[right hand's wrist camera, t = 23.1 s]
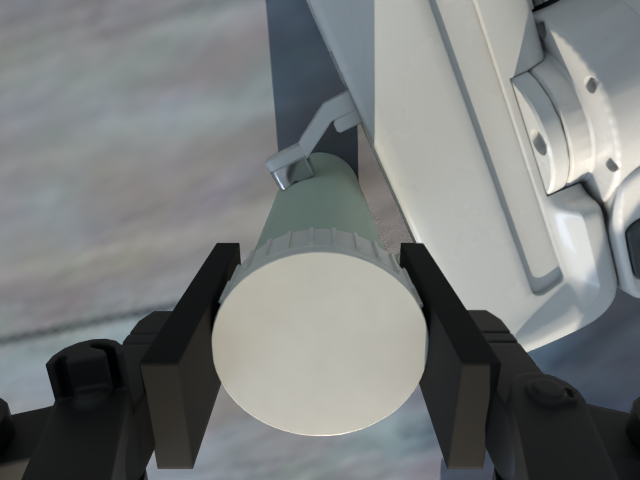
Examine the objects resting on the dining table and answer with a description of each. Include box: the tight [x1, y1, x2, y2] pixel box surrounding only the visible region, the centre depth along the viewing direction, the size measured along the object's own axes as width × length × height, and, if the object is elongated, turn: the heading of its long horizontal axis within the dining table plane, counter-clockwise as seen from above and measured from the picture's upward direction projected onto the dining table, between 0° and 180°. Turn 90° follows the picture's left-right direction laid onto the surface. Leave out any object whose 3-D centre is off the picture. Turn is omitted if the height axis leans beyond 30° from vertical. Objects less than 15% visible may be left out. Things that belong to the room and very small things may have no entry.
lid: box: [211, 227, 429, 436], centre depth 11 cm, size 6×6×2 cm
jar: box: [255, 152, 385, 251], centre depth 19 cm, size 5×5×16 cm
